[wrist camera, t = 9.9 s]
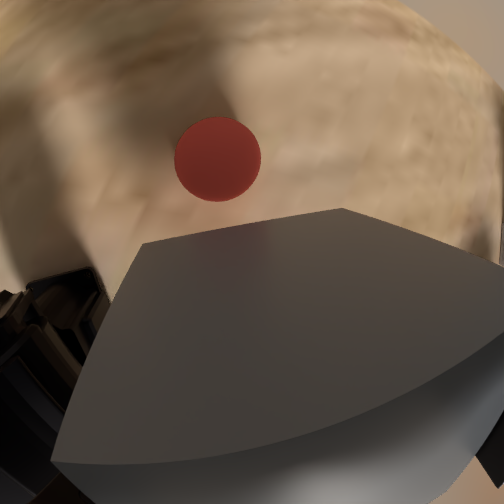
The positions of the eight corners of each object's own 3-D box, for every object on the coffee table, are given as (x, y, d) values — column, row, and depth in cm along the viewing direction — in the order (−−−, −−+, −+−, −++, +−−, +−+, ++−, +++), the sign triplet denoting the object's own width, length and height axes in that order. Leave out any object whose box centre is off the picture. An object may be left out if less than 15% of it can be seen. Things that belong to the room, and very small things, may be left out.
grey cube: (191, 400, 12) (216, 576, 4) (142, 243, 10) (50, 460, 2) (343, 362, 14) (445, 491, 5) (342, 208, 11) (551, 289, 3)
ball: (166, 111, 13) (173, 135, 18) (177, 207, 14) (182, 208, 19) (262, 101, 14) (246, 126, 19) (276, 192, 15) (257, 197, 20)
